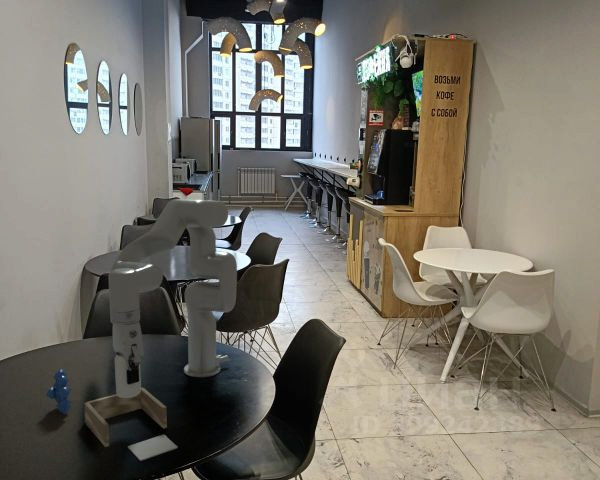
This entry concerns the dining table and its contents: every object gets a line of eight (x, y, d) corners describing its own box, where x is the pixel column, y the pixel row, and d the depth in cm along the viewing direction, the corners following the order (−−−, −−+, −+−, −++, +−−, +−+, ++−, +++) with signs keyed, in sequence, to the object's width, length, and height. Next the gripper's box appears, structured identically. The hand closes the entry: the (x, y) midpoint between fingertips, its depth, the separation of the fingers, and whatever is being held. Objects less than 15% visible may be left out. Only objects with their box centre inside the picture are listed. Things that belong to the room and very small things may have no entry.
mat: (163, 435, 147) (163, 434, 147) (177, 448, 141) (177, 446, 141) (127, 447, 141) (127, 446, 141) (140, 461, 134) (140, 459, 134)
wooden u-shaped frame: (143, 406, 163) (142, 387, 162) (166, 427, 151) (166, 407, 150) (84, 422, 153) (83, 402, 152) (105, 447, 140) (104, 425, 140)
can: (133, 400, 146) (131, 357, 144) (111, 397, 147) (109, 355, 145) (145, 389, 152) (143, 348, 150) (124, 387, 153) (122, 346, 151)
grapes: (43, 405, 162) (41, 367, 160) (68, 400, 166) (66, 363, 164) (50, 422, 153) (47, 381, 151) (75, 416, 156) (73, 376, 154)
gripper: (152, 320, 141) (154, 385, 144) (126, 304, 154) (129, 365, 158) (124, 326, 137) (127, 393, 140) (99, 309, 150) (103, 371, 153)
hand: (128, 377), depth 149 cm, fingers closed on can, 6 cm apart
